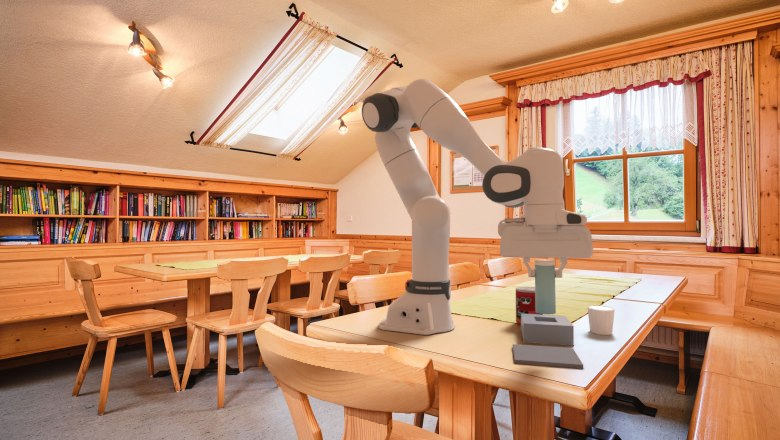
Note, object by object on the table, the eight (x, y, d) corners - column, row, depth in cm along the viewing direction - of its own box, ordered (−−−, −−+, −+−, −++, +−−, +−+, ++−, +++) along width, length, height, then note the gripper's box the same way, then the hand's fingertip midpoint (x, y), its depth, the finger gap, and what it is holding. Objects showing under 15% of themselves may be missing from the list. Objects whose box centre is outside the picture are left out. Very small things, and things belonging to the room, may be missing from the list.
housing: (523, 342, 107) (523, 323, 107) (521, 330, 118) (520, 313, 118) (573, 345, 104) (573, 326, 104) (565, 333, 115) (565, 315, 115)
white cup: (583, 329, 120) (583, 305, 120) (607, 329, 120) (607, 305, 120) (594, 335, 113) (594, 310, 113) (619, 335, 113) (619, 310, 113)
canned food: (511, 321, 129) (511, 286, 130) (536, 320, 130) (535, 286, 130) (522, 327, 122) (522, 290, 122) (547, 326, 123) (547, 290, 123)
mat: (514, 363, 91) (514, 359, 91) (512, 347, 102) (512, 344, 102) (583, 368, 87) (583, 364, 87) (573, 351, 99) (572, 348, 99)
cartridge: (536, 313, 93) (535, 261, 93) (534, 309, 98) (533, 259, 98) (557, 314, 92) (556, 261, 92) (554, 310, 97) (553, 259, 97)
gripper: (497, 218, 95) (498, 278, 95) (594, 216, 90) (595, 280, 89) (497, 218, 101) (498, 274, 101) (588, 217, 96) (589, 276, 95)
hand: (545, 277), depth 95 cm, fingers closed on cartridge, 4 cm apart
